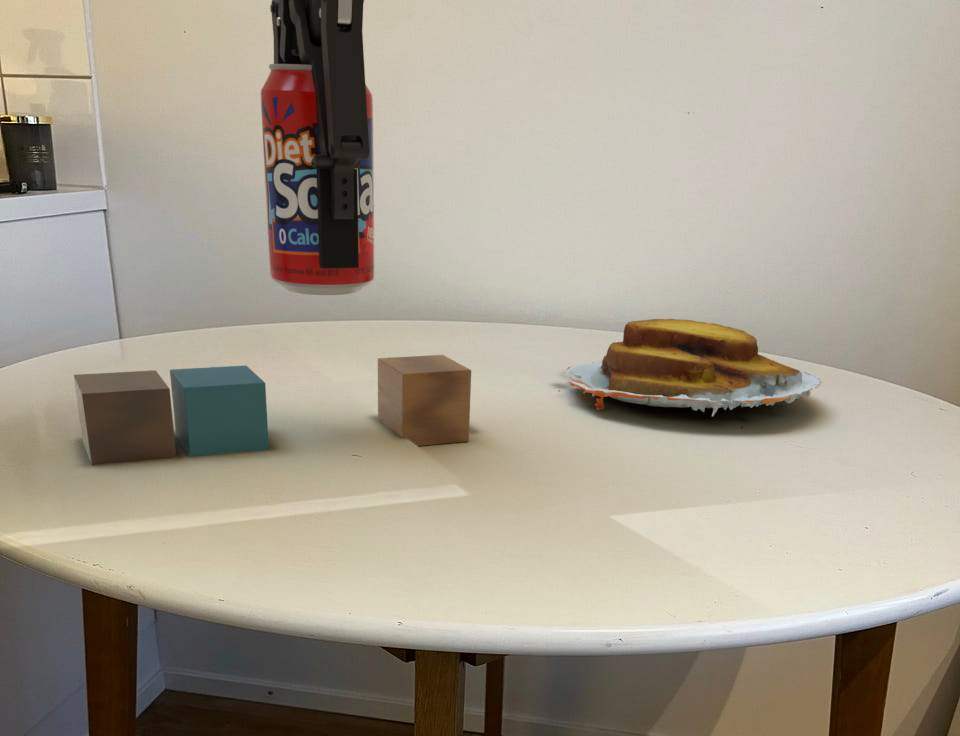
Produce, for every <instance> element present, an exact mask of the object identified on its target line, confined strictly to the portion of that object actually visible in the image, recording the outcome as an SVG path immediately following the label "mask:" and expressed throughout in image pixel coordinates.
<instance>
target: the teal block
mask: <svg viewBox="0 0 960 736" xmlns="http://www.w3.org/2000/svg"><path fill="white" fill-rule="evenodd" d="M169 376H170V387H171V388H170V389H171V398H172V405H173V407H172V408H173V416H174V418H173V420H174V426H175V427H174V428H175V429H174V430H175V437H177V439H178V440H179V442H180V443H181V445H182V447H183V448H184V449H185V451H186V452H187V454H188V455H189V457H200V456H211V455H213V456H214V455H223V454H234V453H245V452H246V453H247V452H257V451H268V450H270V444H269V441H270V440H269V425H268V424H269V423H268V405H267V390H266V389H267V388H266V382H265V381H264V380H263V379H262V378H260V377H259V376H258V375H257V374H256V373H255V372H254V371H253V370H252V369H251V368H250V367H249V366H248V365H245V364H244V365H229V366H228V365H227V366H211V367H210V366H209V367H194V368H192V367H191V368H175V369H173V368H172V369H169Z"/></svg>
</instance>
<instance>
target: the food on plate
mask: <svg viewBox="0 0 960 736" xmlns="http://www.w3.org/2000/svg"><path fill="white" fill-rule="evenodd" d="M563 374H564V375H565V377H566V378H567V379H568V380H569V381H567V384H569V385H570V386H573V387H576V388H578V389H579V391H583V394H586V393H588V394H592V397H593V398H594V397H595V396H596V397H600V398H595V400H596V403H595V404H594V406H595V409H596V410H598V411H600V410H603V409H605V406H604V405H605V404H604V398H605V397H608V398H611V399H614V400H617V401H621V402H623V403H624V402H625V403H630V404H637V405H645V406H650V407H660V408H690V409H692V410H693V411H696V412H697V411H698V410H700V411H701V412H702V413H705V409H712V412H711V417H714V416H715V414H717V411H718V409H723V410H724V411H726V410H727V409H728V408H729V410H730V411H732V410H733V409H735V408H737V407H741V408H744V407H745V408H746V407H749V408H751V409H752V408H753V407H754V406H755V408H756V407H757V408H758V407H759V406H762V405H765V406H771V407H774V405H775V404H776V403H780V402H785V403H787V404H792V403H794V402H795V400H796V399H797V400H799V399H801V398H802V397H805V398H809V397H810V396H811V391H813V390H814V389H818V388H819V387H820V386H821V383H822V381H821V380H820V378H819V377H817V376H816V375H815V374H813V375H812V374H810V373H807V372H805V371H802V370H799V369H797V368H794V367H791V366H788V365H785V364H783V363H780V362H778V361H776V360H772V359H770V358H768V357H765V356H764V355H761V354H759V347H758V341H757V338H756V337H755V336H754V335H752V334H750V333H748V332H747V331H745V330H743V329H740V328H739V329H738V328H735V327H731V326H726V325H722V324H718V323H713V322H711V323H709V322H705V321H697V320H692V319H677V318H676V319H675V318H651V319H642V320H634V321H633V320H632V321H628V322H626V324H625V325H624V328H623V337H622V341H616V342H615V341H614V342H612V343H611V344H609V346H608V348H607V351H606V354H605V355H604V356H603V358H602V360H597V361H593V362H586V363H581V364H577V365H573V366H568V367H567V368H566V369H565V372H564V373H563ZM574 374H575V375H577V376H578V377H577V376H575V375H574ZM579 376H580V377H579ZM557 392H559V393H560V392H561V389H559V390H558V391H557ZM741 429H743V426H741Z"/></svg>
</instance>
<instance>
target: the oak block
mask: <svg viewBox="0 0 960 736" xmlns="http://www.w3.org/2000/svg"><path fill="white" fill-rule="evenodd" d="M471 389H472V369H470V368H468V367H467V366H465V365H463V364H461V363H459V362H457V361H455V360H453V359H452V358H450V357H448V356H446V355H444V354H431V355H414V356H397V357H396V356H395V357H393V356H392V357H378V358H377V420H378V421H379V422H381V423H382V424H384V425H385V426H386V427H388V428H389V429H390V430H391V431H393V433H395V434H397V435H398V436H399V437H400V438H402V439H407V440H409V442H411V443H412V444H414V445H415V446H417V447H424V446H433V445H435V446H436V445H444V444H445V445H446V444H457V443H467V442H469V440H470V419H471V418H470V417H471V416H470V414H471V395H472V394H471V392H472V391H471Z"/></svg>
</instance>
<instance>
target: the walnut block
mask: <svg viewBox="0 0 960 736" xmlns="http://www.w3.org/2000/svg"><path fill="white" fill-rule="evenodd" d="M73 381H74V388H75V395H76V403H77V409H78V417H79V424H80V430H81V431H80V432H81V438H82V444H83V446H84V448H85V452H86V454H87V457H88V459H89V462H90V464H91V466H99V465H110V464H120V463H121V464H123V463H133V462H143V461H156V460H166V459H167V460H168V459H177V448H176V438H175V429H174V428H175V427H174V418H173V409H172V408H173V407H172V399H171V398H172V397H171V388H170V387H169V386H168V384H166V382H165V380H164V379H163V378H162V376H161V375H160V374H159V373H158V371H157V370H155V369H154V370H136V371H134V370H133V371H117V372H100V373H81V374H80V373H79V374H73Z"/></svg>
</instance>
